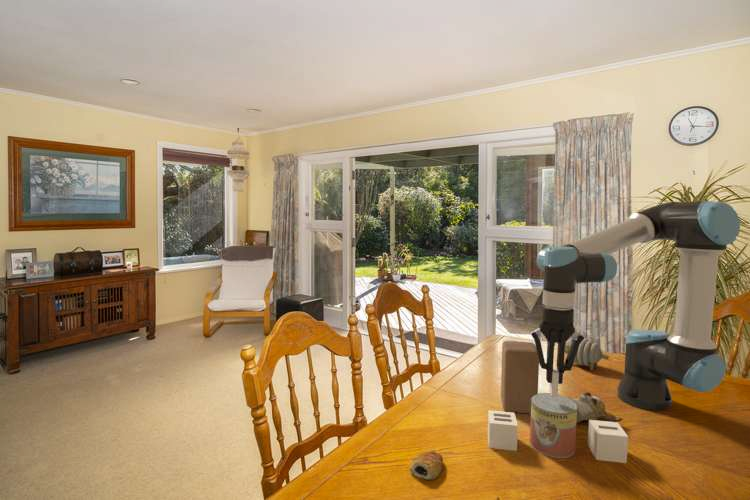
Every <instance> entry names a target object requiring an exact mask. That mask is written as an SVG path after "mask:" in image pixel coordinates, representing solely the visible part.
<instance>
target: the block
mask: <svg viewBox="0 0 750 500" xmlns="http://www.w3.org/2000/svg"><path fill="white" fill-rule="evenodd" d="M501 347H502V348H501V350H502V351H501V375H500V376H501V377H500V379H501V380H500V381H501V382H500V399H501V404H502V408H503V411H504V412H512V413H517V414H518V413H520V414H528V415H529V414H530V415H531V398H532V396H534V395H536V394H539V373H540V372H539V371H540V370H539V369H540V364H539V360H538V355H537V350H536V346H535V342H530V341H513V340H504V341H503V342H502V345H501Z"/></svg>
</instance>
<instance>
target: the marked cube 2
mask: <svg viewBox="0 0 750 500" xmlns="http://www.w3.org/2000/svg"><path fill="white" fill-rule="evenodd" d="M587 434H588V435H587V446H588V447H589V449H590V451H591V453H592V455H593V457H594V459H595V461H597V460H598V461H603V462H614V463H622V464H627V460H628V445H629V436H628V434H627V433H626V431H625V430H624V428H622V426H621V425H620V424H619V422H608V421H597V420H589V421H588V433H587Z"/></svg>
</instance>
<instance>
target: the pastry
mask: <svg viewBox="0 0 750 500" xmlns="http://www.w3.org/2000/svg"><path fill="white" fill-rule="evenodd" d="M443 462H444V458H443V455H442V454H440V453H438V452H436V451H433V450H430V451H425V452H422V453H421V454H420V453H419V454H418V455H417V457H415V458H413V460H412V463H411V465H410V467H409V471H410V472H411V474H412V475H413V476H415V477H418V478H421V479H424V480H428V481H430V480H431V481H432V480H435V479H437V478H438V477H439V476H440V474H441V472H442V469H443Z"/></svg>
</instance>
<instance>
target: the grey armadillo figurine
mask: <svg viewBox="0 0 750 500" xmlns="http://www.w3.org/2000/svg"><path fill="white" fill-rule="evenodd" d="M571 342H572V340H571V341H570V342H567V343H566V346H565V354H566V355H567V354H568V351H569V348H570V345H571ZM602 359H604V360H609V359H610V356H609V355H606V354H604V353H603V352H602V349H601V347H600V345H599V344H598V343H595V342H594V341H593V340H589V339H588V338H584V340H583V341H582V342H581V343H580V344H579V347H578V350H577V353H576V356H575V359H574V362H573V365H572V366H574V364H575V363H577V364H578V365H580V366H583V367H584V366H586V367H589V370H590V371H594V368H597V367H598V363H599V362H600V361H601V360H602Z"/></svg>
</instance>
